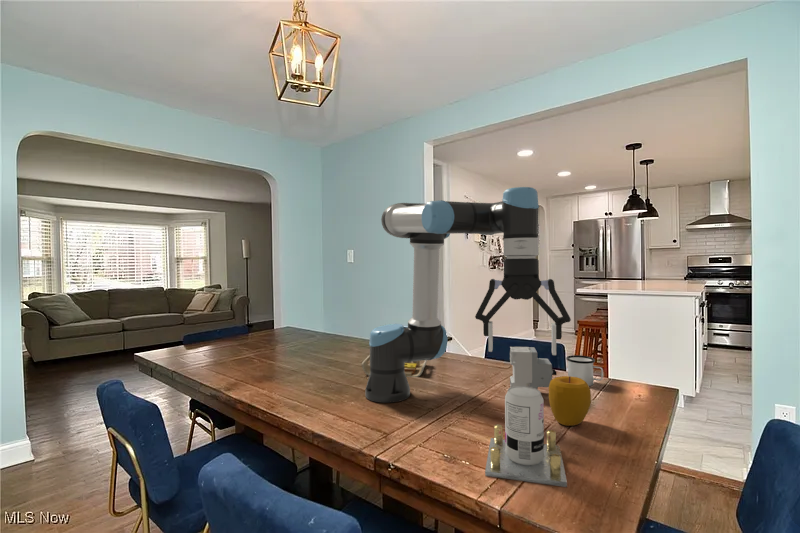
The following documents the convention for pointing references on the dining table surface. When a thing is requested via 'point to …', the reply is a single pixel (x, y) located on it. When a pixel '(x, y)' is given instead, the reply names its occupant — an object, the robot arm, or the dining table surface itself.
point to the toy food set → (410, 368)
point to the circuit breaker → (529, 368)
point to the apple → (569, 399)
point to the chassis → (542, 473)
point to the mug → (582, 368)
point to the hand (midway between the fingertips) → (521, 352)
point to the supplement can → (524, 425)
